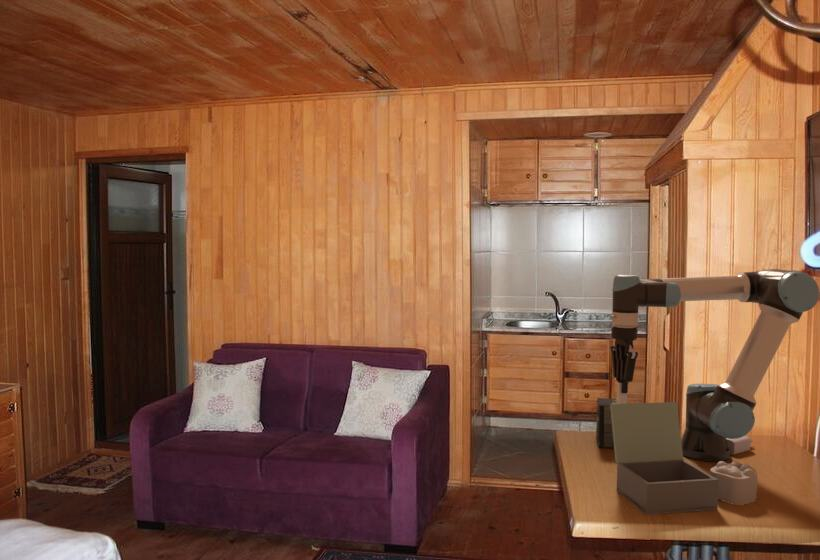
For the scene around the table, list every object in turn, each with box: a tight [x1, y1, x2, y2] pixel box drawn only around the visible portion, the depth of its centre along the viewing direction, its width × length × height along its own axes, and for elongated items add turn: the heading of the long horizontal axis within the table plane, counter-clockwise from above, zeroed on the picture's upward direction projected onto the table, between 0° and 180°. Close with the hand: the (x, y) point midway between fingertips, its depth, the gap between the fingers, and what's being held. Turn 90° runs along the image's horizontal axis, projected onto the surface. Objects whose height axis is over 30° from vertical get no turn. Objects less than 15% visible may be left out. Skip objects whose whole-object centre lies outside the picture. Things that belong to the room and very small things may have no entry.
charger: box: [726, 435, 753, 456], centre depth 225 cm, size 5×9×15 cm
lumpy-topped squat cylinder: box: [709, 460, 758, 505], centre depth 184 cm, size 10×13×9 cm
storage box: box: [616, 458, 719, 516], centre depth 180 cm, size 20×16×8 cm
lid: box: [610, 401, 684, 464], centre depth 190 cm, size 20×16×1 cm
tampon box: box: [595, 397, 619, 449], centre depth 229 cm, size 11×9×15 cm
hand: (621, 402), depth 204 cm, fingers closed
